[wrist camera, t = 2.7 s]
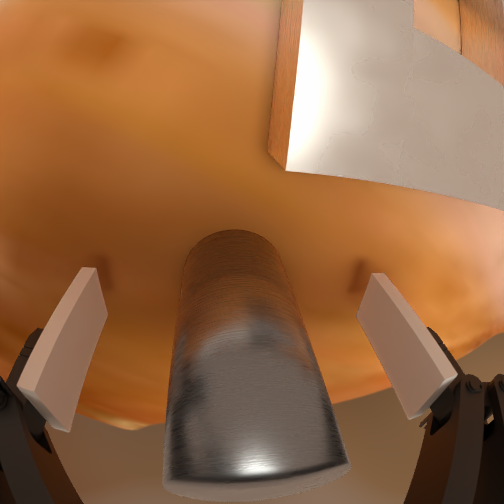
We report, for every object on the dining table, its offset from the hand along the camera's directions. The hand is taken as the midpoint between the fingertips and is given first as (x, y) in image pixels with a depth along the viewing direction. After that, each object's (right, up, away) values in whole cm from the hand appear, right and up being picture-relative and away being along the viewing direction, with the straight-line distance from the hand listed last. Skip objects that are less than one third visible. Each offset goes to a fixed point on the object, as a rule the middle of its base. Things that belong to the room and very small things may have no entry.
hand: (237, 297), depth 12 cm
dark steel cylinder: (0, +1, +2) cm, 2 cm away
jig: (+9, +14, -5) cm, 17 cm away
